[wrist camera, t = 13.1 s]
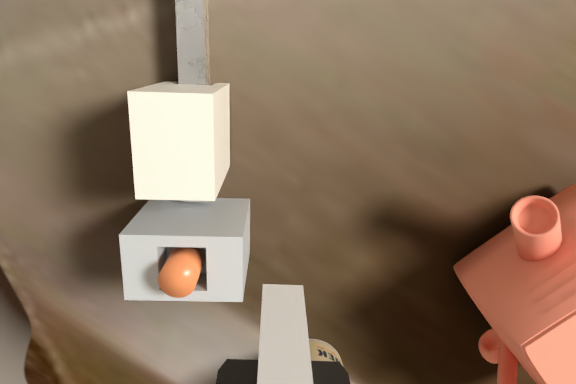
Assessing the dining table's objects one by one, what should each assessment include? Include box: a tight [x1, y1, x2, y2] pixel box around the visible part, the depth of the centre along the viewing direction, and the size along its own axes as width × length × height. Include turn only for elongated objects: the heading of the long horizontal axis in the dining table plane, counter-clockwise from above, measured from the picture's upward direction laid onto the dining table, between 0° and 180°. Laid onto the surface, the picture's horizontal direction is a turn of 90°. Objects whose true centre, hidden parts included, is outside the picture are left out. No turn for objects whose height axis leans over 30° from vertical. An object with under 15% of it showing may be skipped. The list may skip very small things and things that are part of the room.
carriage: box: [127, 81, 230, 201], centre depth 38 cm, size 8×6×11 cm
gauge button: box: [158, 247, 204, 298], centre depth 37 cm, size 3×3×4 cm
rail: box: [175, 0, 211, 203], centre depth 40 cm, size 26×2×3 cm, turn 178°
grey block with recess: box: [119, 198, 250, 302], centre depth 42 cm, size 6×10×10 cm, turn 88°
